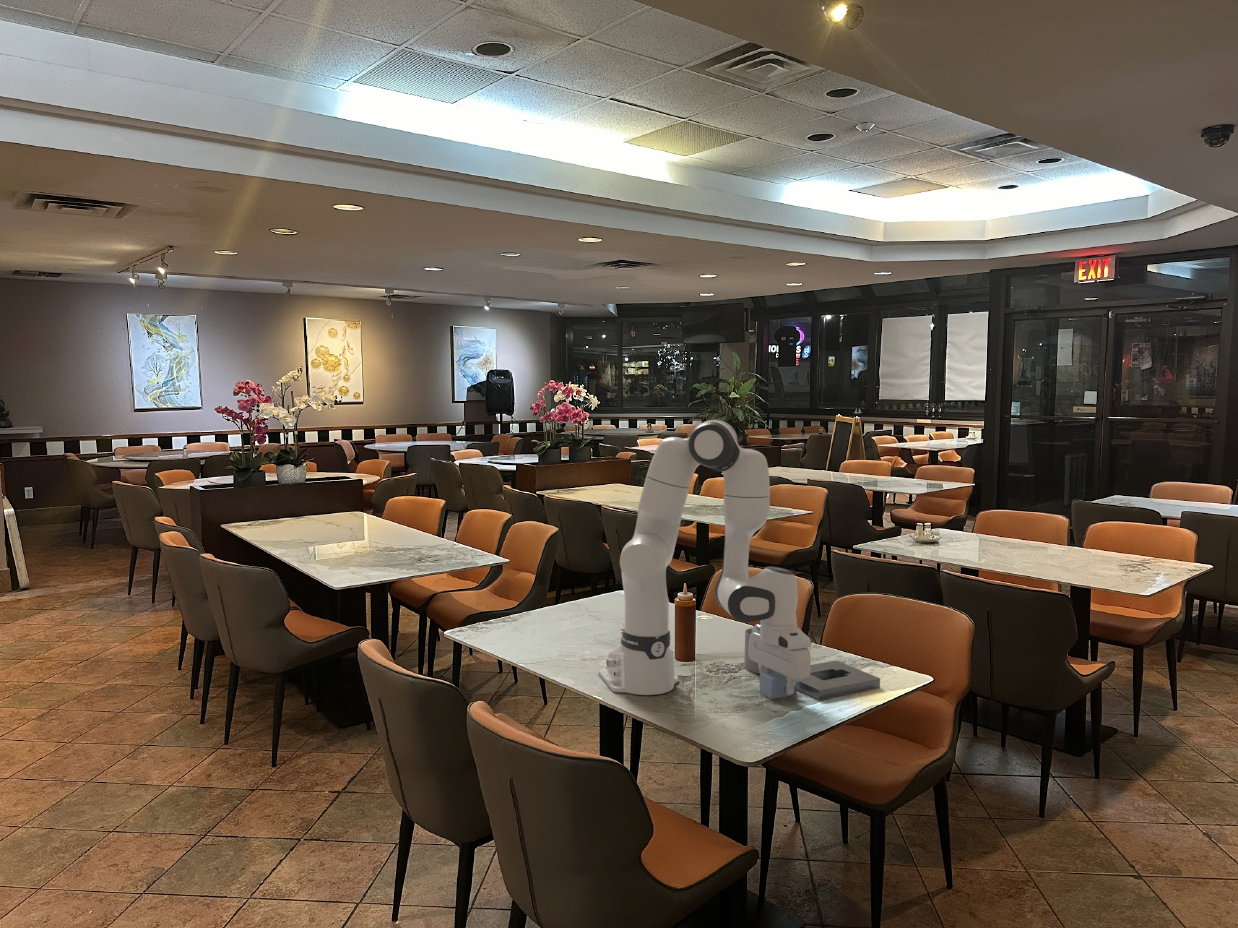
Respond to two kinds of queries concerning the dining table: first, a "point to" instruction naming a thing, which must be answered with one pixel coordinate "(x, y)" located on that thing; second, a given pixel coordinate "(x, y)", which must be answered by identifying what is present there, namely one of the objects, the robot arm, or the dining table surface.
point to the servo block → (773, 685)
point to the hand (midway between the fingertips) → (776, 687)
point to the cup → (748, 663)
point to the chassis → (836, 681)
